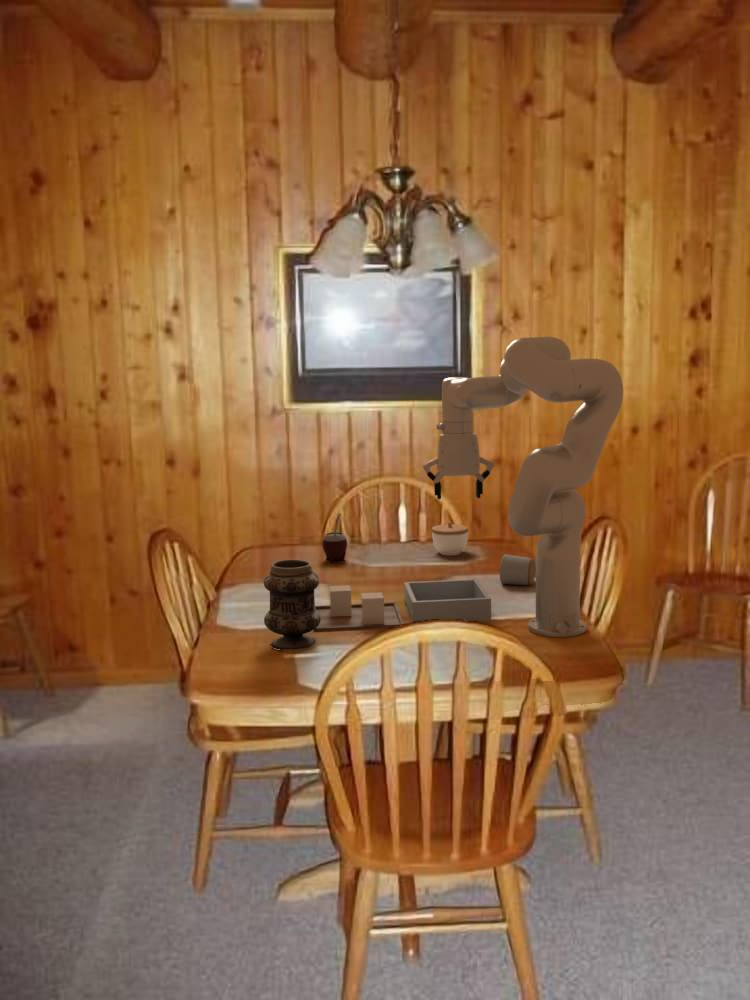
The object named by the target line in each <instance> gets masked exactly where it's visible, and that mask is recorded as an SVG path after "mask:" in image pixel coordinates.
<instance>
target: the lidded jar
mask: <svg viewBox="0 0 750 1000" xmlns="http://www.w3.org/2000/svg"><path fill="white" fill-rule="evenodd" d="M431 532H432V533H431V534H432V543H433V546H434V548H435V549H436V550H437V552H439V553H440V555H441V556H448V557H449V556H459V555H460V554H461V553H462V552H463V551H464V549H465V548H466V546H467V543H468V537H469V536H468V535H469V533H468V532H469V527H468V526H466V525H464V524H463V525H462V524H457V523H456V524H455V523H452V521H448V522H447V524H438V525H437V524H436V525H435V526H434V525H433V526H432V528H431Z"/></svg>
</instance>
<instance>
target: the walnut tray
mask: <svg viewBox="0 0 750 1000" xmlns="http://www.w3.org/2000/svg"><path fill="white" fill-rule="evenodd" d="M315 609H316V610H317V611H318V612H319V614H320V616H321V621H320V624H319V625H318V626H317V627H316V628H315V629H314V630H313V631H314V632H327V631H329V632H331V631H349V630H351V631H352V630H354V631H355V630H373V629H390V628H391V629H392V628H393V627H396V626H400V625H404V621H403V619H402V615H401V613H400V610H399V607H398V604H397V602H396V601H395V602H394V601H393V602H384V624H367V625H363V622H362V607H361V603H351V610H352V616H332V617H331V612H330V604H327V605H315ZM404 626H405V625H404ZM396 628H397V627H396Z"/></svg>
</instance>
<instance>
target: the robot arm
mask: <svg viewBox="0 0 750 1000" xmlns="http://www.w3.org/2000/svg"><path fill="white" fill-rule="evenodd" d="M503 355H504V356H503V360H502V362H501V363H500V367H499V375H494V376H493V375H491V376H476V377H467V376H452V377H451V376H450V377H447V378H444V379H443V381H442V383H441V416H442V417H441V420H442V421H441V423H437V424H436V430H437V431H441V433H440V434H439V438H438V444H437V454H436V455H437V456H436V457H435V458H433V459H431V460H430V461H428V462H426V463H423V465H422V468H423V470H424V473H426V475H427V477H428V478H429V479H430V480H431V481H433V484H434V496H436V497H437V500H441V499H442V484H441V480H442V479H443V477H455V476H461V477H462V476H475V477H476V480H475V497H476V498H477V499H481V495H483V493H484V487H483V486H484V484H483V483H484V481H485V480H486V479H487V477H488V476H489V475H490V474H491V472H492V470H493V467H494V466H495V465H494V463H493V462H491V461H490V460H487V459H485V458H483V457H482V456H480V447H479V438H478V435H477V433H474V411H476V410H486V409H497V408H503V407H507V406H508V405H511V404H514V403H515V402H517V401H519V400H521V399H523V398H524V397H525V396H526V394H527V393H528V392H529V390H530V391H531V392H532V393H534V394H535V395H536V396H538V397H540V398H541V399H543V400H544V401H547V402H551V403H556V404H557V403H558V404H559V403H560V404H561V403H571V402H582V401H583V402H582V404H581V406H580V407H579V408H578V409H577V410H576V411H575V412H574V414H573V415H572V416H571V417H570V419H569V420H568V423H567V425H566V427H565V430H564V433H563V436H562V438H561V440H560V441H559V443H558V444H555V445H550V446H544V447H539V448H535V449H534V450H532V451H531V452H529V454H528V455H527V456H526V457H525V458H524V460H523V463H522V464H521V467H520V470H519V473H518V476H517V479H516V482H515V485H514V488H513V490H512V494H511V497H510V500H509V505H508V508H507V509H508V511H507V517H508V523H509V525H510V527H511V529H512V531H514V532H515V533H516V534H517V535H519V536H522V537H535V536H539V538H538V541H537V544H536V548H535V618H532V619H531V620H529V622H528V629H529V630H530V631H531V632H533V633H535V634H537V635H540V636H546V637H552V638H553V637H555V638H556V637H557V638H564V637H565V638H566V637H568V636H569V637H574V636H575V635H576V636H579V635H582V634H583V633H585V632H586V631H587V628H588V627H587V623H586V622H585V621H584V620H582V619H580V617H581V616H580V611H581V610H580V609H581V608H580V601H581V598H580V597H581V593H580V592H581V591H580V590H581V550H582V549H581V547H582V546H581V545H582V535H583V530H584V529H583V528H584V525H585V520H586V519H585V518H586V511H587V510H586V509H587V507H586V502H585V499H584V496H582V494H581V493H580V492H579V491H578V490H576V489H579V488H583V487H586V486H587V485H588V484H589V483H590V481H591V479H592V477H593V475H594V473H595V471H596V468H597V465H598V463H599V460H600V458H601V454H602V453H603V451H604V450H603V449H604V447H605V445H606V441H607V438H608V435H609V433H610V432H611V429H612V427H613V425H614V423H615V421H616V419H617V417H618V415H619V412H620V410H621V407H622V404H623V399H624V385H623V380H622V379H623V378H622V376H621V374H620V372H619V371H618V369H617V368H616V366H615V365H614V364H612V363H611V362H608V361H607V360H605V359H604V360H603V359H600V358H599V359H598V358H577V359H576V358H575V359H571V357H572V356H571V350H570V347H569V346H568V344H567V343H566V342H565V341H564V340H562V339H561V338H558V337H553V336H535V337H533V336H531V337H521V338H517V339H515V340H513V341H512V342H511V343H510V344H508V346H507V347H506V349H505V353H504V354H503ZM481 464H482V465H484V466H485V467H486V468H485V470H483V472H482V473H480V470H481ZM435 465H437V467H436V469H437V471H438V472H437V473H436V474H434V473H433V472H432V470H431V468H432V467H433V466H435Z"/></svg>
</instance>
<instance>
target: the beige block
mask: <svg viewBox="0 0 750 1000" xmlns="http://www.w3.org/2000/svg"><path fill="white" fill-rule="evenodd" d="M383 594H384V593H383V592H380V591H379V592H363V593H360V599H361V600H360V601H361V603H360V604H361V607H362V622H363V625H367V624H384V603H385V601H384V600H385V599H384V595H383Z"/></svg>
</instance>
